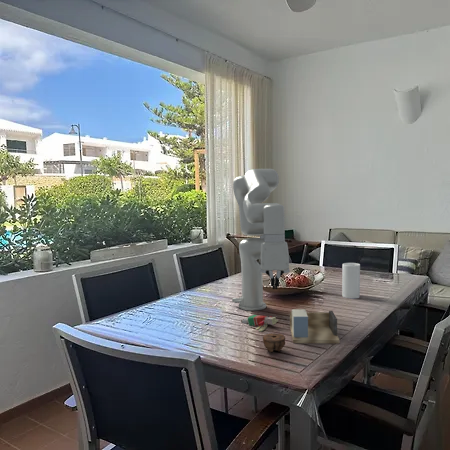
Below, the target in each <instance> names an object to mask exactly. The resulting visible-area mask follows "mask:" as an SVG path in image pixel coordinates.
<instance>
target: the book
mask: <svg viewBox="0 0 450 450" xmlns="http://www.w3.org/2000/svg"><path fill="white" fill-rule="evenodd" d="M291 312H292V331H293V336H294V337H308V316H307V313H306V312H307V310H306V309H304V308H303V309H302V308H301V309H297V308H296V309H295V308H294V309H291Z"/></svg>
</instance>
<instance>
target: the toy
mask: <svg viewBox="0 0 450 450" xmlns="http://www.w3.org/2000/svg"><path fill="white" fill-rule="evenodd" d="M240 321H241V323H242V324H248V326H255V327H256V328H255V329H254V330H256V331H258V332H259V333H260V332H261V333H262V332H264V331H265V330H266V328H267V327H268V326H270V325H271V326H274V325H276V324H277V322H279V319H276V316H272V315H269V316H268V315H267V316H266V315H257V314H253V315H250V316H248V318H242V319H241V320H240Z"/></svg>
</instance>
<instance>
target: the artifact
mask: <svg viewBox="0 0 450 450" xmlns="http://www.w3.org/2000/svg"><path fill="white" fill-rule="evenodd" d="M262 342H263V346H264V347H265V349H266V350H267V351H268V352H269V353H273V352H274V351H278V352H281V351H282V349H283V348H284V347H285V345H286V336H285V335H284V334H282V333H266V334H264V335H262Z"/></svg>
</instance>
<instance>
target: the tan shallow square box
mask: <svg viewBox="0 0 450 450" xmlns="http://www.w3.org/2000/svg"><path fill="white" fill-rule="evenodd" d="M306 313H307V316H308V337H294V336H293V331H292V311H290V312H289V329H290V334H291V338H292V339H291V340H292V343H293V344H336V345H337V344H340V338H339V336H338V318H337V316H336V314H335V313H334V311H333V310H329V311H328V312H327V311H325V312H321V311H318V312H316V311H314V312H311V311H310V312H307V311H306Z"/></svg>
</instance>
